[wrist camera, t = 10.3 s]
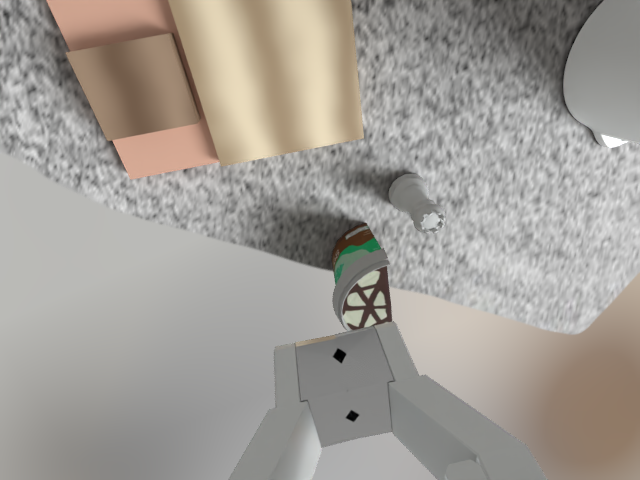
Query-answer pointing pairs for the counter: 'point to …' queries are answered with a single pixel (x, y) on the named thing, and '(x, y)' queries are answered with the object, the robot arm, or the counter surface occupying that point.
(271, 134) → the oak board
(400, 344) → the robot arm
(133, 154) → the salmon pink pad
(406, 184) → the rook chess piece
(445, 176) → the counter surface
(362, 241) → the food container
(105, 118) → the walnut tile
